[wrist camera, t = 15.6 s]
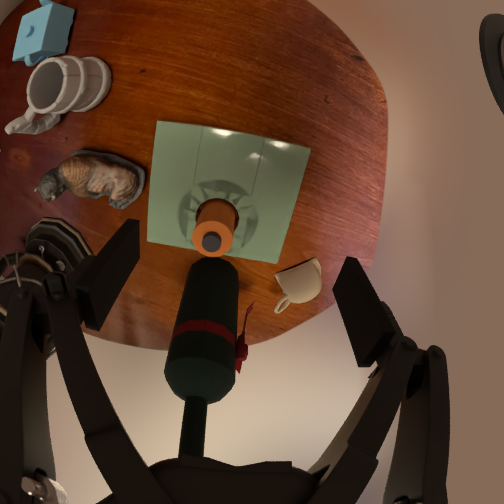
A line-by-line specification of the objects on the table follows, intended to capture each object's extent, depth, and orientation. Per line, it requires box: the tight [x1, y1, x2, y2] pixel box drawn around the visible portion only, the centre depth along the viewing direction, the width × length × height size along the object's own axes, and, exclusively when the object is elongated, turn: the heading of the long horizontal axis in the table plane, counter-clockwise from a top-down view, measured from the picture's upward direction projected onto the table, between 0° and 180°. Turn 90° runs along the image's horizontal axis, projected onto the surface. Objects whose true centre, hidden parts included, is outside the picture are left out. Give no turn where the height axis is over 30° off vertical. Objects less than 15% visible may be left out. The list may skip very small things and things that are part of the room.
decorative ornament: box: [274, 258, 322, 313], centre depth 39 cm, size 4×8×5 cm, turn 114°
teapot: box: [13, 0, 75, 66], centre depth 16 cm, size 12×6×8 cm, turn 171°
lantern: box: [0, 218, 92, 360], centre depth 26 cm, size 20×16×30 cm
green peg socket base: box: [147, 119, 311, 264], centre depth 33 cm, size 18×16×2 cm
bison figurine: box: [35, 150, 145, 209], centre depth 28 cm, size 12×7×10 cm, turn 71°
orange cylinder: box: [192, 198, 236, 257], centre depth 32 cm, size 4×4×9 cm
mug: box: [5, 56, 112, 135], centre depth 21 cm, size 8×12×12 cm, turn 126°
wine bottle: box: [164, 257, 255, 458], centre depth 29 cm, size 8×10×30 cm
